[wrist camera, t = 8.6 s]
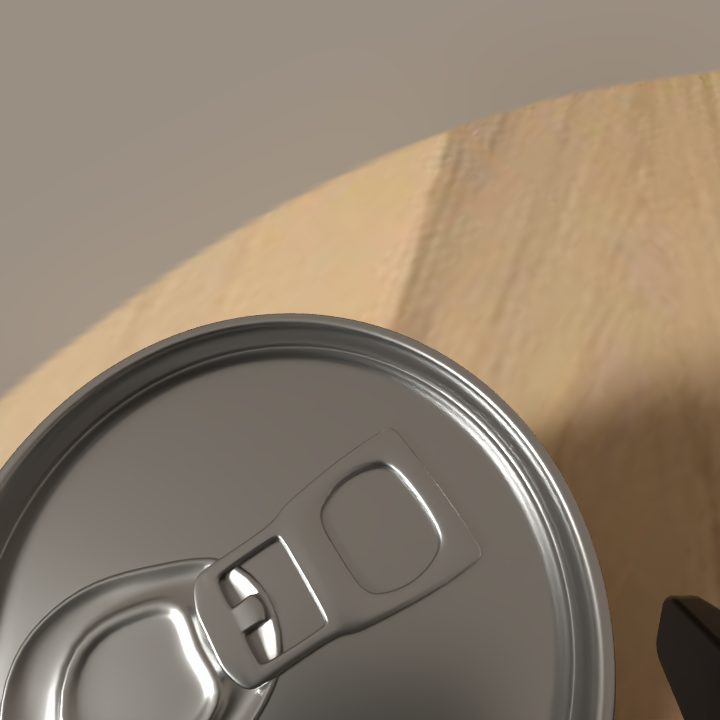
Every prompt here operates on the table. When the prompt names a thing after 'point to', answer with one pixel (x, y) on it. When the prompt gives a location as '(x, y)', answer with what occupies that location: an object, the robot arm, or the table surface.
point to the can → (295, 541)
